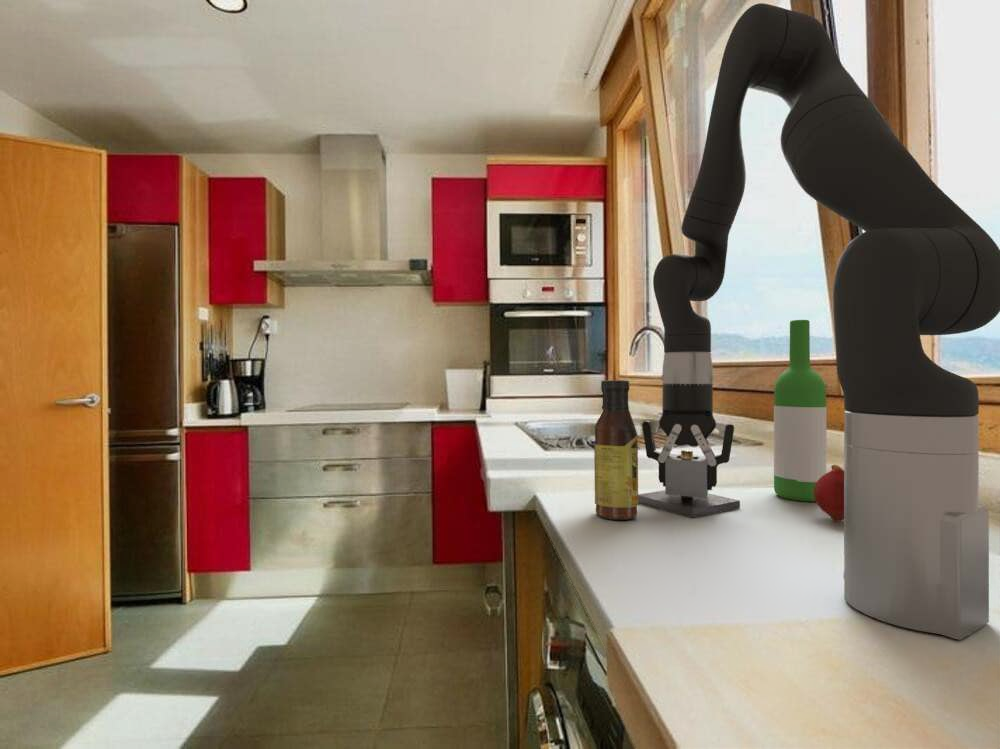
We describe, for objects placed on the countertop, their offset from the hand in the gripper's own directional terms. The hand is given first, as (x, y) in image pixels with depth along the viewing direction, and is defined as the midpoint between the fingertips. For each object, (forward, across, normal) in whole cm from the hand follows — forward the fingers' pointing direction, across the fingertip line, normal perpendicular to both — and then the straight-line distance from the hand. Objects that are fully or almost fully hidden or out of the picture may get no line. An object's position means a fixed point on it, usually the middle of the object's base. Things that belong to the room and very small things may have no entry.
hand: (687, 487), depth 83 cm
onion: (+3, -20, +1) cm, 20 cm away
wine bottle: (+3, -17, -14) cm, 22 cm away
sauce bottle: (+3, +9, +11) cm, 14 cm away
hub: (+3, 0, 0) cm, 3 cm away
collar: (+1, 0, 0) cm, 1 cm away
